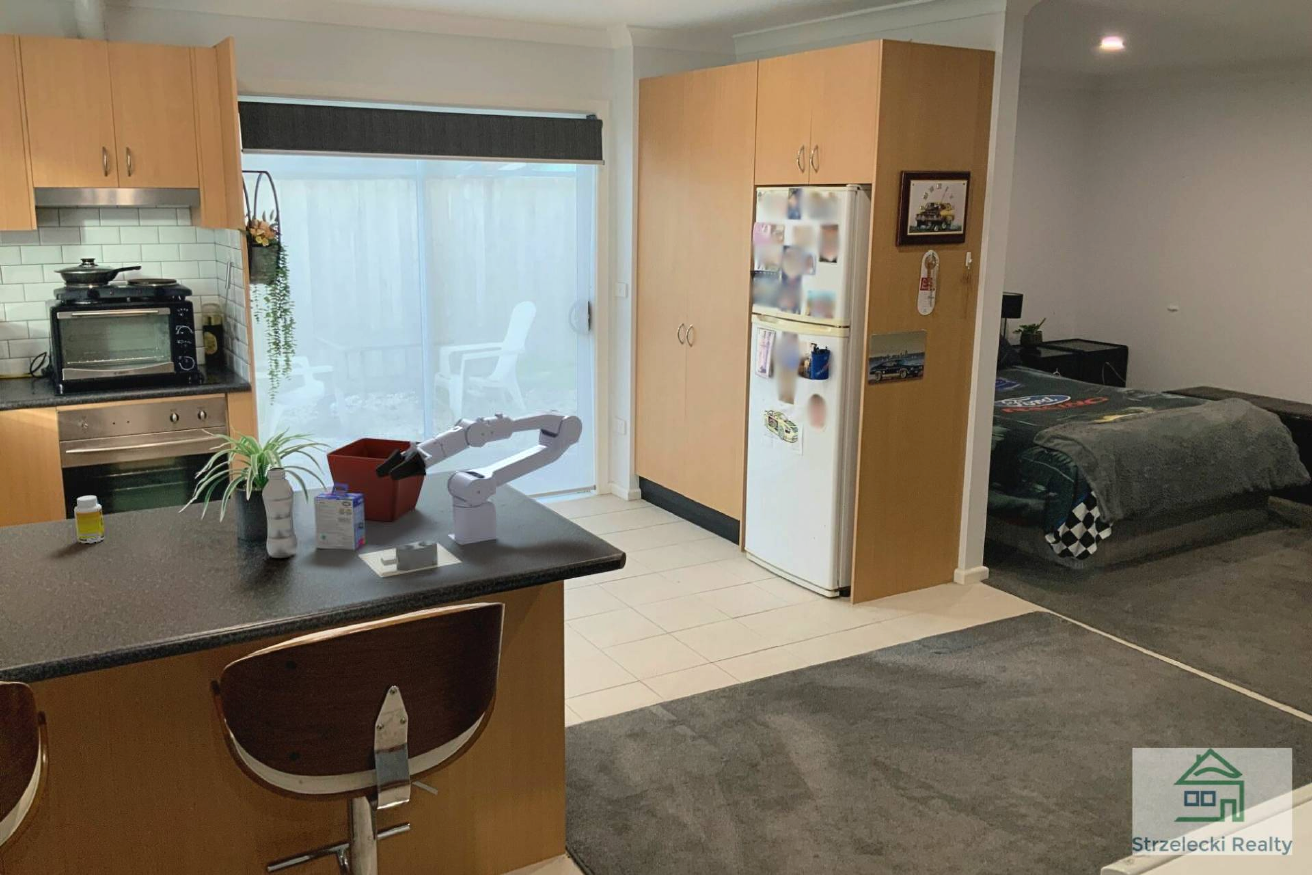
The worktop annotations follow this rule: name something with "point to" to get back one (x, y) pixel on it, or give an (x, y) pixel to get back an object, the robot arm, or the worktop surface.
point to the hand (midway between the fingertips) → (383, 475)
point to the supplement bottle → (89, 520)
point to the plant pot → (375, 478)
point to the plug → (413, 556)
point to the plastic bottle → (279, 514)
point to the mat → (384, 571)
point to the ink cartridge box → (339, 519)
